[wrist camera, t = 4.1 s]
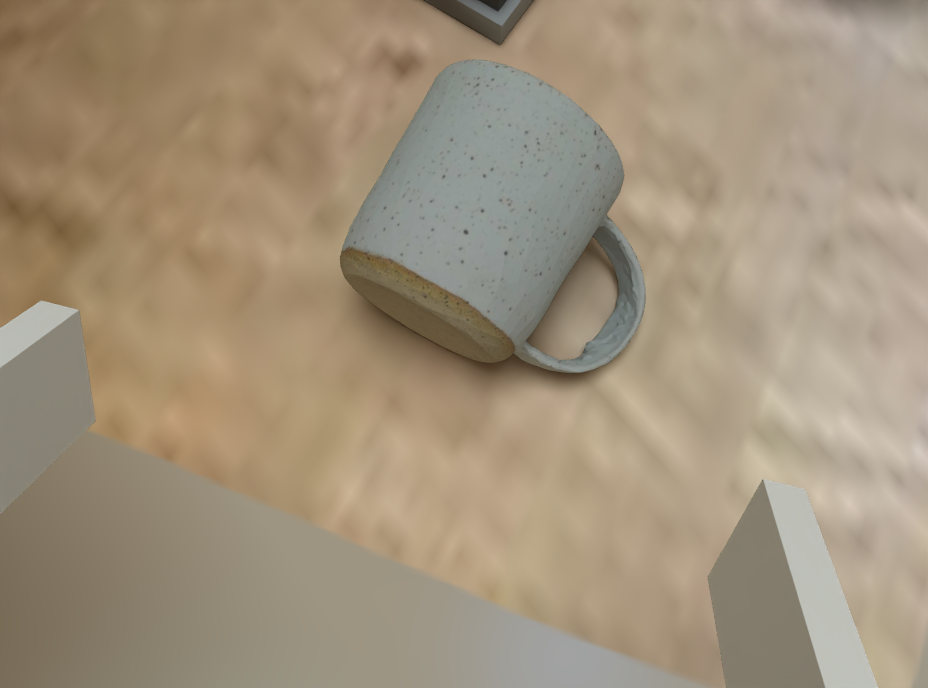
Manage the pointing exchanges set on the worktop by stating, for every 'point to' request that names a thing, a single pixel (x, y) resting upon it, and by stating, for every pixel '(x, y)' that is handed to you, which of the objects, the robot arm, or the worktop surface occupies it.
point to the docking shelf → (485, 14)
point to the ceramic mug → (493, 218)
